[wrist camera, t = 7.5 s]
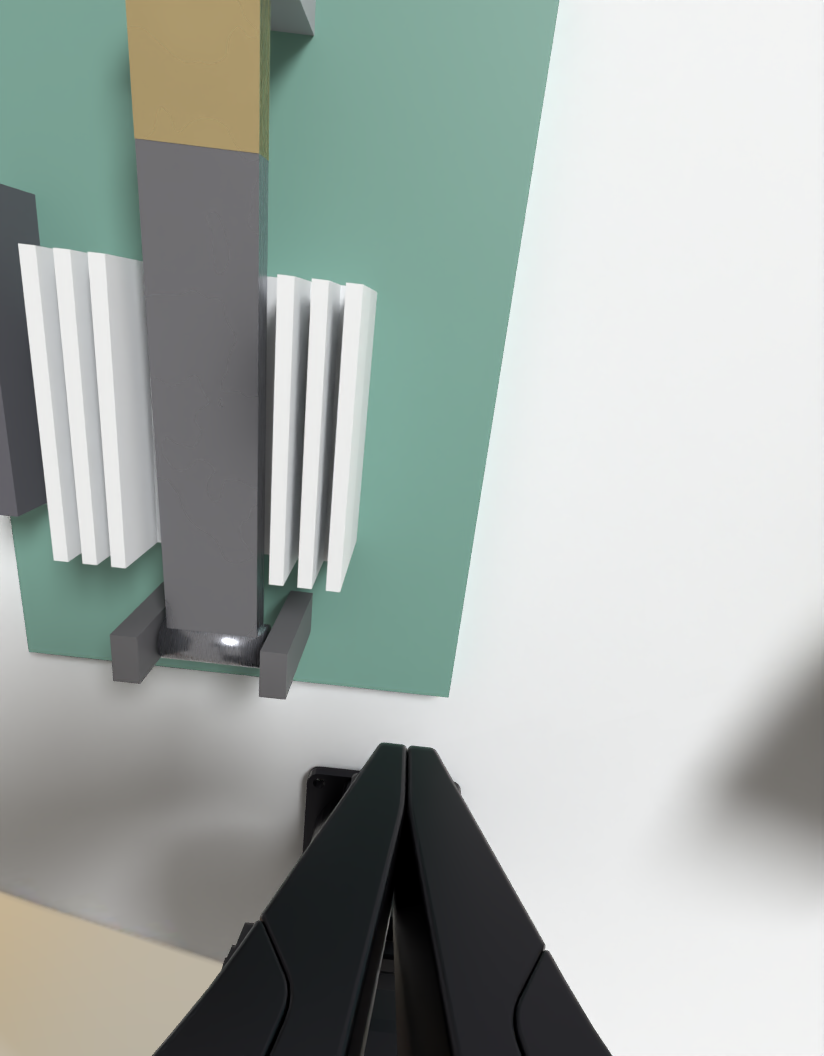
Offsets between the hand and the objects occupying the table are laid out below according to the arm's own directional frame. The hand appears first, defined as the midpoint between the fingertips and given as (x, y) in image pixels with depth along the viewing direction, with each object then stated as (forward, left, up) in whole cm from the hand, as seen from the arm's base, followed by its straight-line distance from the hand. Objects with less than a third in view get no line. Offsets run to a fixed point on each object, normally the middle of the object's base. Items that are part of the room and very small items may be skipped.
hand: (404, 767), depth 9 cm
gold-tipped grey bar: (+4, +6, -9) cm, 12 cm away
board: (+4, +6, -12) cm, 14 cm away
